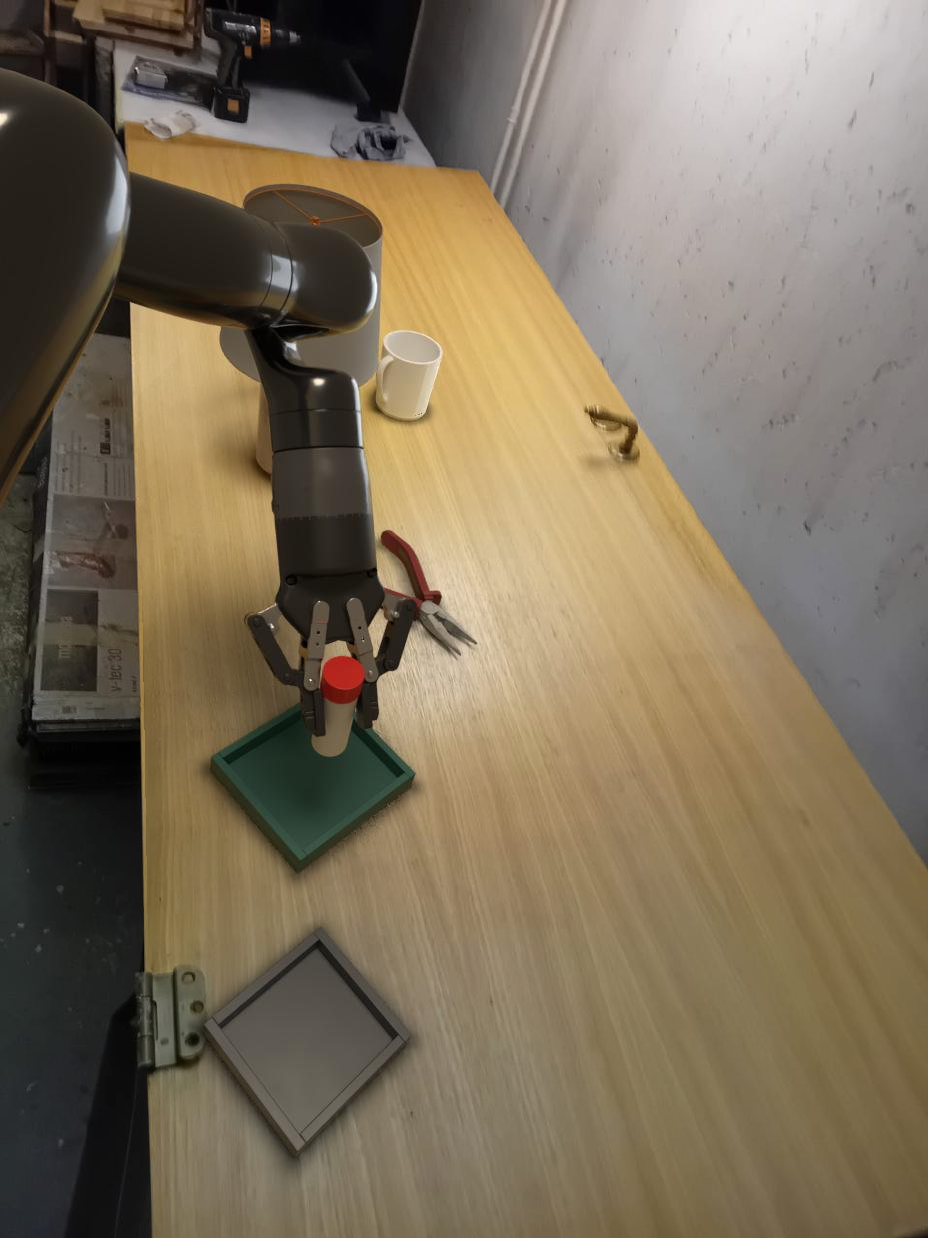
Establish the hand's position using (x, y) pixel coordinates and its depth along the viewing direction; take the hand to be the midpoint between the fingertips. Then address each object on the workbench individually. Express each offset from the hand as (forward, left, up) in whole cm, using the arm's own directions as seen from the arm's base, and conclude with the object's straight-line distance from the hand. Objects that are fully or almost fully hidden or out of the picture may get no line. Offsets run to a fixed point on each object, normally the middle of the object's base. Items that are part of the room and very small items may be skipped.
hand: (342, 729), depth 65 cm
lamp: (+31, +45, -18) cm, 58 cm away
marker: (+1, +2, -5) cm, 5 cm away
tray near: (-12, -13, -18) cm, 26 cm away
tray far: (+3, +5, -18) cm, 19 cm away
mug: (+54, +48, -18) cm, 75 cm away
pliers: (+26, +18, -18) cm, 37 cm away
